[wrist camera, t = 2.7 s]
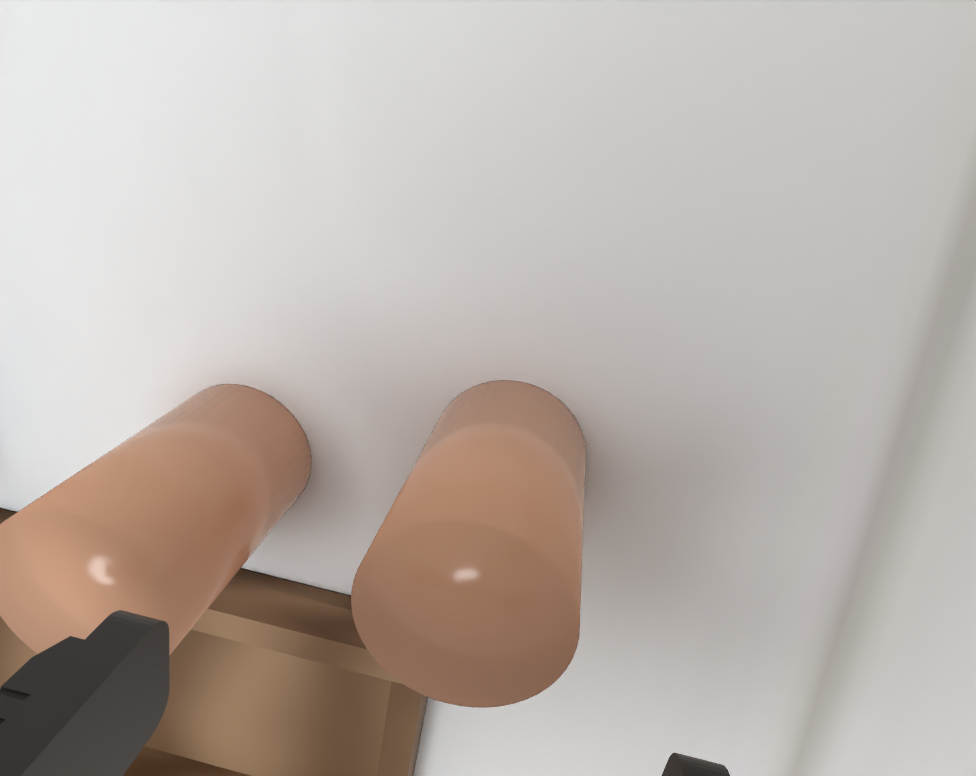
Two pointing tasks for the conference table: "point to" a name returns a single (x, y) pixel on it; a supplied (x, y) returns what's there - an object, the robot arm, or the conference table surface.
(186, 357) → the conference table surface
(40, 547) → the clay cylinder
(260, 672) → the tray
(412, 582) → the clay cylinder
